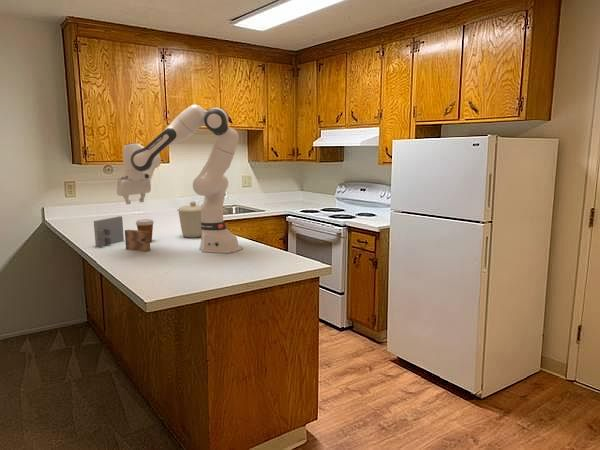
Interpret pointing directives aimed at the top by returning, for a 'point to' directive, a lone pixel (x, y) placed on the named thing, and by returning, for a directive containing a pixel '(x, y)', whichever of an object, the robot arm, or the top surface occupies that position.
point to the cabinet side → (108, 231)
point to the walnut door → (137, 240)
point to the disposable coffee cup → (145, 226)
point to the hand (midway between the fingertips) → (135, 203)
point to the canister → (190, 220)
